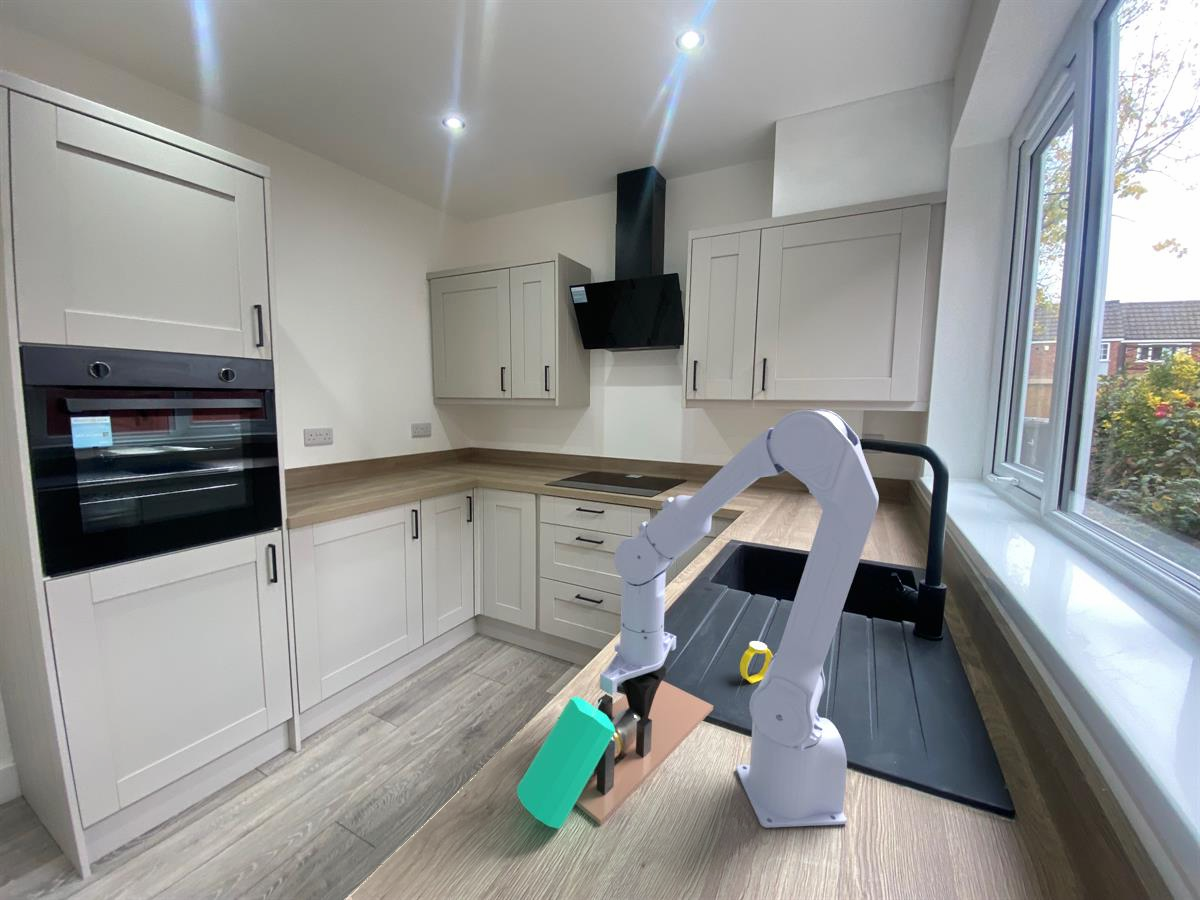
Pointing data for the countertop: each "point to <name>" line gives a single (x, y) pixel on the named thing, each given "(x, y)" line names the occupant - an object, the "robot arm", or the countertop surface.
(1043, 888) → the countertop surface
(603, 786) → the black upright posts
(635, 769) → the plate
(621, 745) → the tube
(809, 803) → the robot arm
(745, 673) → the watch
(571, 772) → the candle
